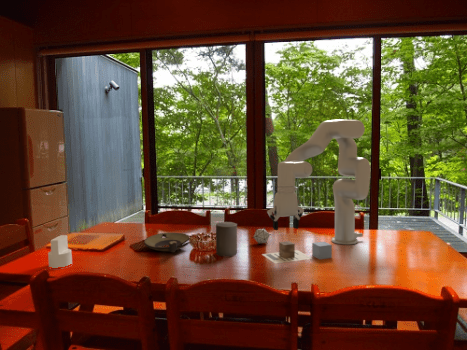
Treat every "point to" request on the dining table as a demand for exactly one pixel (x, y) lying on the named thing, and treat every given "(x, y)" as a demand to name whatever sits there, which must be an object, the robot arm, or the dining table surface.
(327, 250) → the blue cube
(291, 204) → the robot arm
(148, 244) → the oil lamp
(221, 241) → the pillar candle
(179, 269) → the dining table surface
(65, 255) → the base with upright slab
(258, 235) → the game die
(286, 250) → the walnut block
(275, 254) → the letter
